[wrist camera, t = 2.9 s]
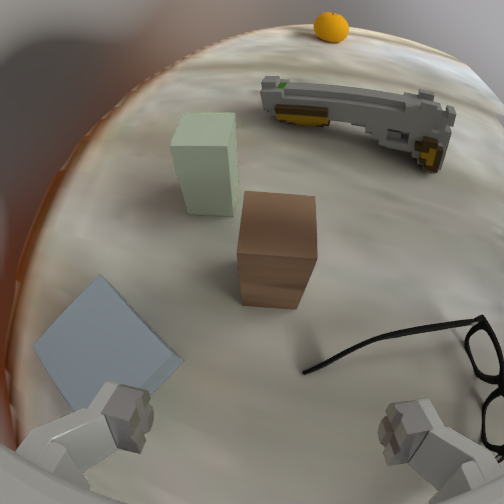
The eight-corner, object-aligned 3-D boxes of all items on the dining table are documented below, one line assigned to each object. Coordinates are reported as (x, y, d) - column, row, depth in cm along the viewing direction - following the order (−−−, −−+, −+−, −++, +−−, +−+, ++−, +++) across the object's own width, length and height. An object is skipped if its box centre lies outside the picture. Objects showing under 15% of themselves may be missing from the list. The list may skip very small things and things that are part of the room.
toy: (441, 179, 32) (460, 115, 23) (269, 151, 40) (256, 88, 31) (437, 153, 34) (452, 93, 26) (280, 129, 42) (269, 70, 34)
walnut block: (247, 257, 27) (244, 191, 19) (297, 261, 27) (315, 196, 19) (242, 305, 25) (237, 253, 17) (296, 309, 24) (317, 258, 17)
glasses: (485, 458, 17) (518, 457, 12) (329, 535, 15) (348, 558, 10) (458, 316, 25) (488, 298, 20) (298, 360, 23) (313, 348, 18)
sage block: (197, 180, 31) (183, 112, 23) (238, 182, 31) (234, 112, 23) (188, 214, 29) (169, 145, 21) (233, 216, 29) (227, 146, 21)
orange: (349, 40, 55) (354, 14, 48) (342, 48, 51) (347, 20, 45) (318, 32, 56) (320, 6, 50) (307, 39, 53) (310, 11, 46)
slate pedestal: (118, 292, 25) (100, 273, 22) (185, 361, 23) (172, 353, 19) (57, 356, 22) (32, 346, 19) (115, 432, 19) (92, 434, 16)
